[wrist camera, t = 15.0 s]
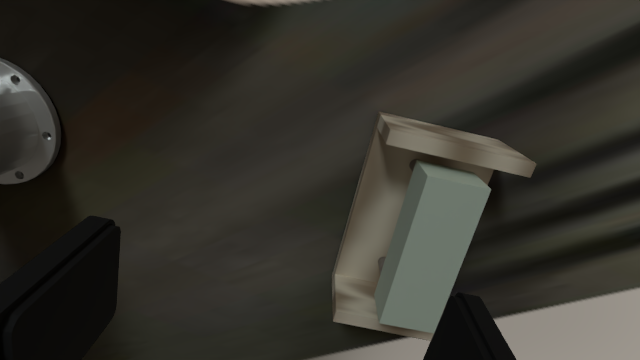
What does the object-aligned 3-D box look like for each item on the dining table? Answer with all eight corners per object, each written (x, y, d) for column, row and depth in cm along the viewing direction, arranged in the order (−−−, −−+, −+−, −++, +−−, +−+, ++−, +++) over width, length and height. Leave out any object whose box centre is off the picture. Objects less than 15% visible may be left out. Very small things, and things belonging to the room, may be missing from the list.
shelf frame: (332, 275, 44) (332, 321, 37) (378, 111, 37) (390, 129, 30) (434, 296, 45) (454, 345, 38) (498, 139, 38) (536, 163, 31)
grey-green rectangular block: (416, 159, 33) (427, 176, 29) (472, 171, 34) (491, 189, 30) (374, 294, 38) (379, 323, 34) (423, 304, 38) (434, 333, 35)
